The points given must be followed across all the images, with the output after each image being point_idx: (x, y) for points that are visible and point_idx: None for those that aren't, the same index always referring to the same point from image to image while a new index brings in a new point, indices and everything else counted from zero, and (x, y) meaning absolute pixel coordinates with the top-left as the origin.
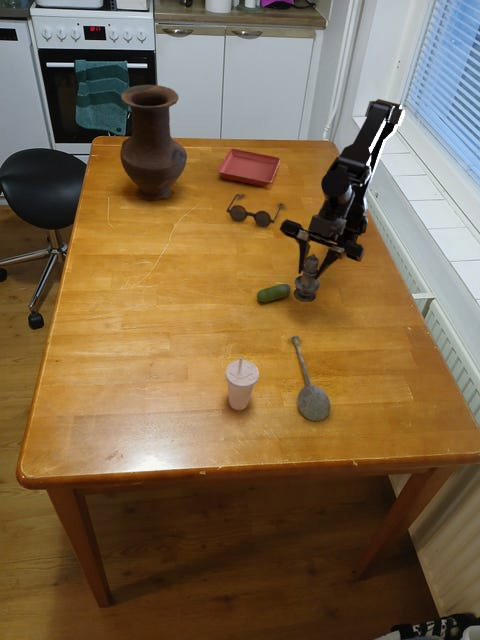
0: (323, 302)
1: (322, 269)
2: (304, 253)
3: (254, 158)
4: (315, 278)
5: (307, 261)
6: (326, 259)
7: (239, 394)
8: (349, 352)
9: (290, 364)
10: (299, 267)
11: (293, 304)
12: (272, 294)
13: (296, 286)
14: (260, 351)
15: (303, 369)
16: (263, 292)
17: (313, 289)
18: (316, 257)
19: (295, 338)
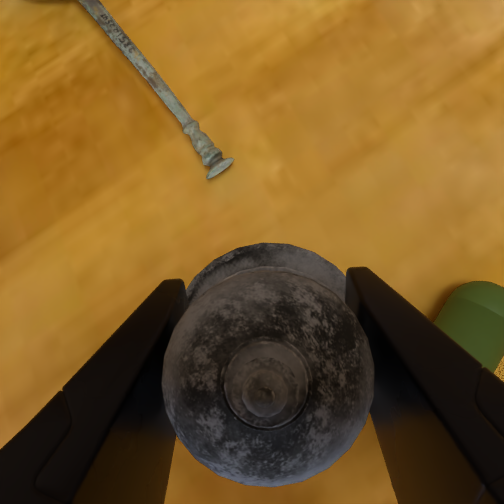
0: (213, 483)
1: (102, 351)
2: (465, 435)
3: None
4: (174, 280)
5: (321, 287)
6: (34, 483)
7: None
8: (5, 248)
9: (183, 60)
10: (387, 292)
11: None
12: (447, 331)
13: (324, 260)
14: (310, 50)
15: (114, 20)
16: (494, 303)
17: (197, 297)
18: (219, 429)
19: (213, 153)
